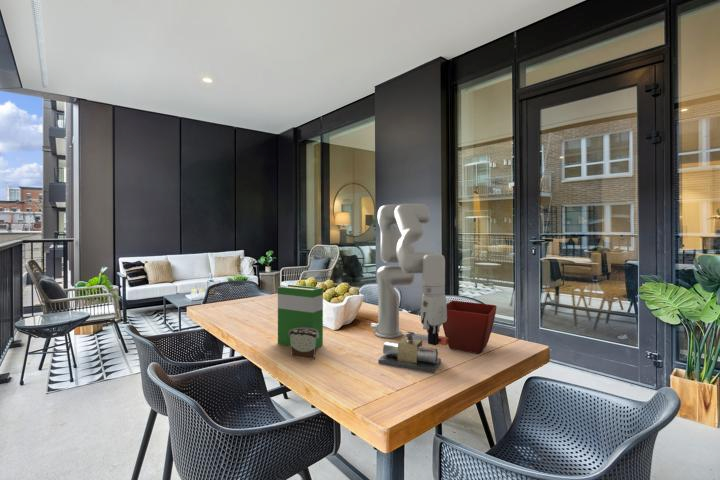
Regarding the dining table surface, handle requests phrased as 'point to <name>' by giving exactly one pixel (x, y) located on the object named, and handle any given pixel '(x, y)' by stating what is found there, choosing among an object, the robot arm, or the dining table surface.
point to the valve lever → (425, 338)
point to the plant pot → (469, 325)
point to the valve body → (410, 355)
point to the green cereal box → (299, 311)
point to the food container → (303, 342)
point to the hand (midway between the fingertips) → (433, 344)
